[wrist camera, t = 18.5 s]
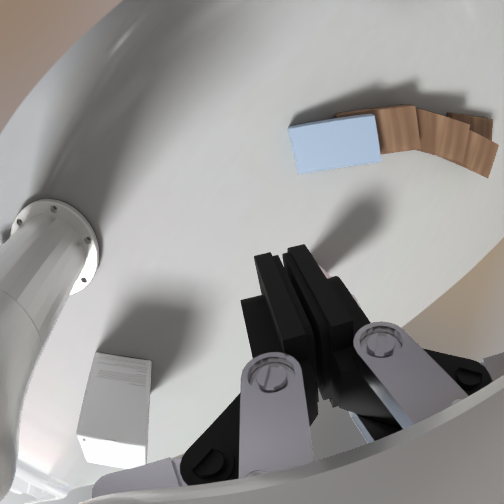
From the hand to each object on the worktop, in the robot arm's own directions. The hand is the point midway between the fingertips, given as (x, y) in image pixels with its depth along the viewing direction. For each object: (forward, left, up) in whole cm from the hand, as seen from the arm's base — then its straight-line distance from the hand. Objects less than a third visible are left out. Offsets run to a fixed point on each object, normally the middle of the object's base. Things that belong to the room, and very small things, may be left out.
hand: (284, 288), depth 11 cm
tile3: (+20, 0, -24) cm, 32 cm away
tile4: (+26, -1, -24) cm, 36 cm away
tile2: (+12, 0, -24) cm, 27 cm away
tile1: (+7, -1, -24) cm, 25 cm away
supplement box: (-23, -28, -25) cm, 44 cm away
